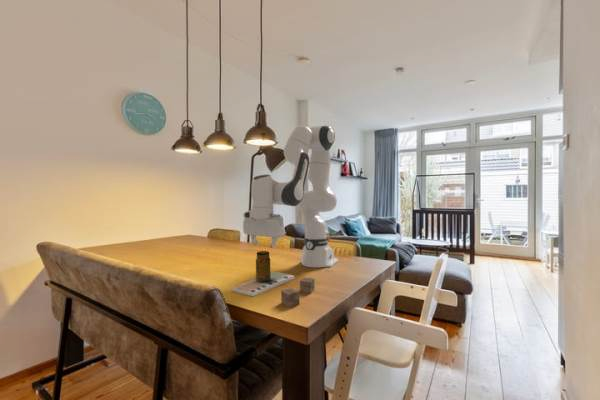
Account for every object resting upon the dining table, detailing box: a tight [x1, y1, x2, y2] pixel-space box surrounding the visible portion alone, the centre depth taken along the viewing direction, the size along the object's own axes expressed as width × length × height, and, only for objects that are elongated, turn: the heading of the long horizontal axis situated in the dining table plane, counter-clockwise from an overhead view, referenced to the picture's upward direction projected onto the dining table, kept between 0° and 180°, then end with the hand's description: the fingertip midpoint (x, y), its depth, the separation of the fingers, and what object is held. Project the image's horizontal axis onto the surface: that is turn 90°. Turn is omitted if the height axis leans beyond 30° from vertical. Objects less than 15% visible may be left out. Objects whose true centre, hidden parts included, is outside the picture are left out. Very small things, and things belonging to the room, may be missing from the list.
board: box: [231, 271, 295, 297], centre depth 119 cm, size 26×11×2 cm, turn 146°
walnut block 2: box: [299, 277, 316, 294], centre depth 111 cm, size 4×4×4 cm
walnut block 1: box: [280, 287, 300, 308], centre depth 98 cm, size 4×4×4 cm
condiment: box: [253, 250, 277, 283], centre depth 119 cm, size 7×8×12 cm
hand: (263, 246), depth 120 cm, fingers open, 8 cm apart
